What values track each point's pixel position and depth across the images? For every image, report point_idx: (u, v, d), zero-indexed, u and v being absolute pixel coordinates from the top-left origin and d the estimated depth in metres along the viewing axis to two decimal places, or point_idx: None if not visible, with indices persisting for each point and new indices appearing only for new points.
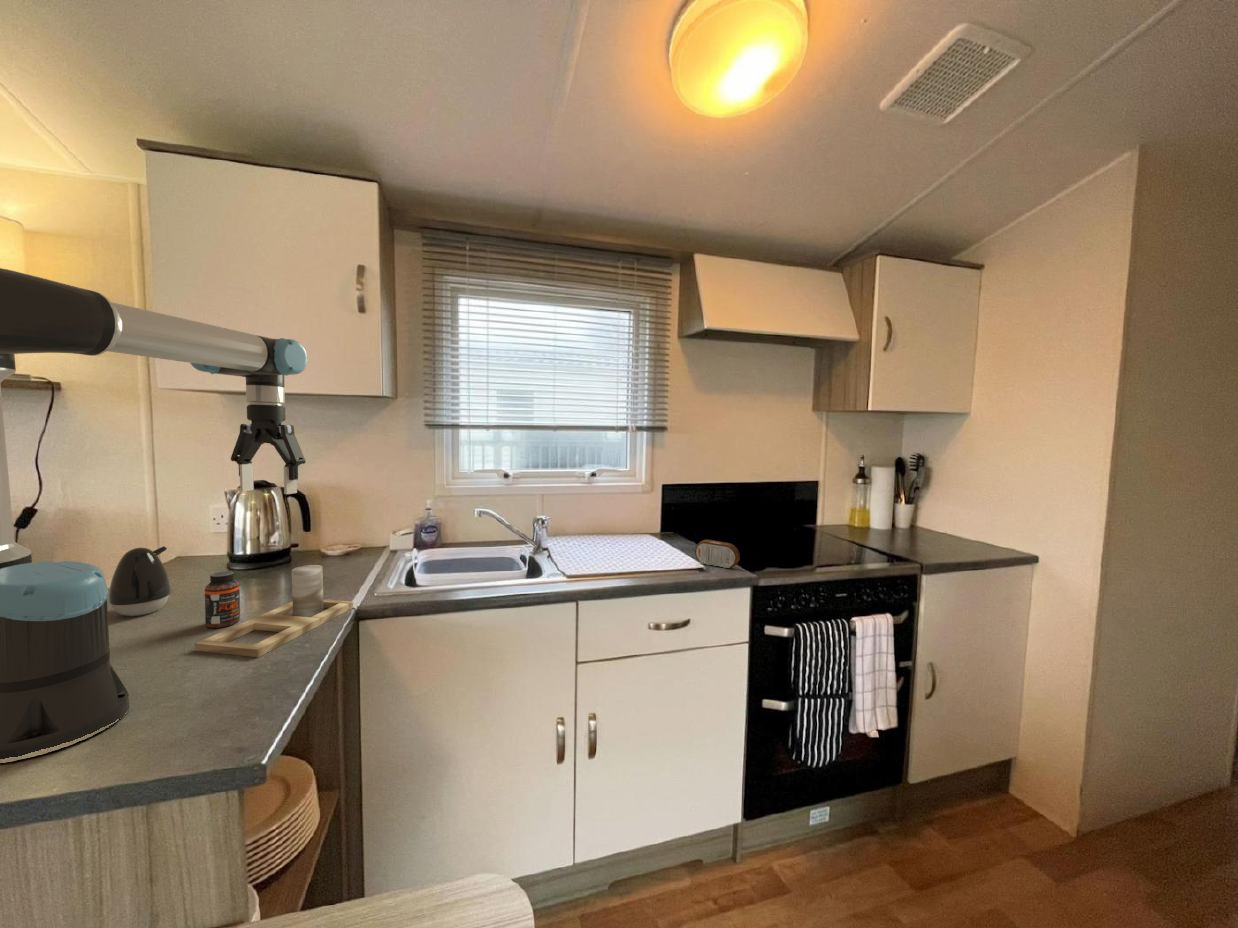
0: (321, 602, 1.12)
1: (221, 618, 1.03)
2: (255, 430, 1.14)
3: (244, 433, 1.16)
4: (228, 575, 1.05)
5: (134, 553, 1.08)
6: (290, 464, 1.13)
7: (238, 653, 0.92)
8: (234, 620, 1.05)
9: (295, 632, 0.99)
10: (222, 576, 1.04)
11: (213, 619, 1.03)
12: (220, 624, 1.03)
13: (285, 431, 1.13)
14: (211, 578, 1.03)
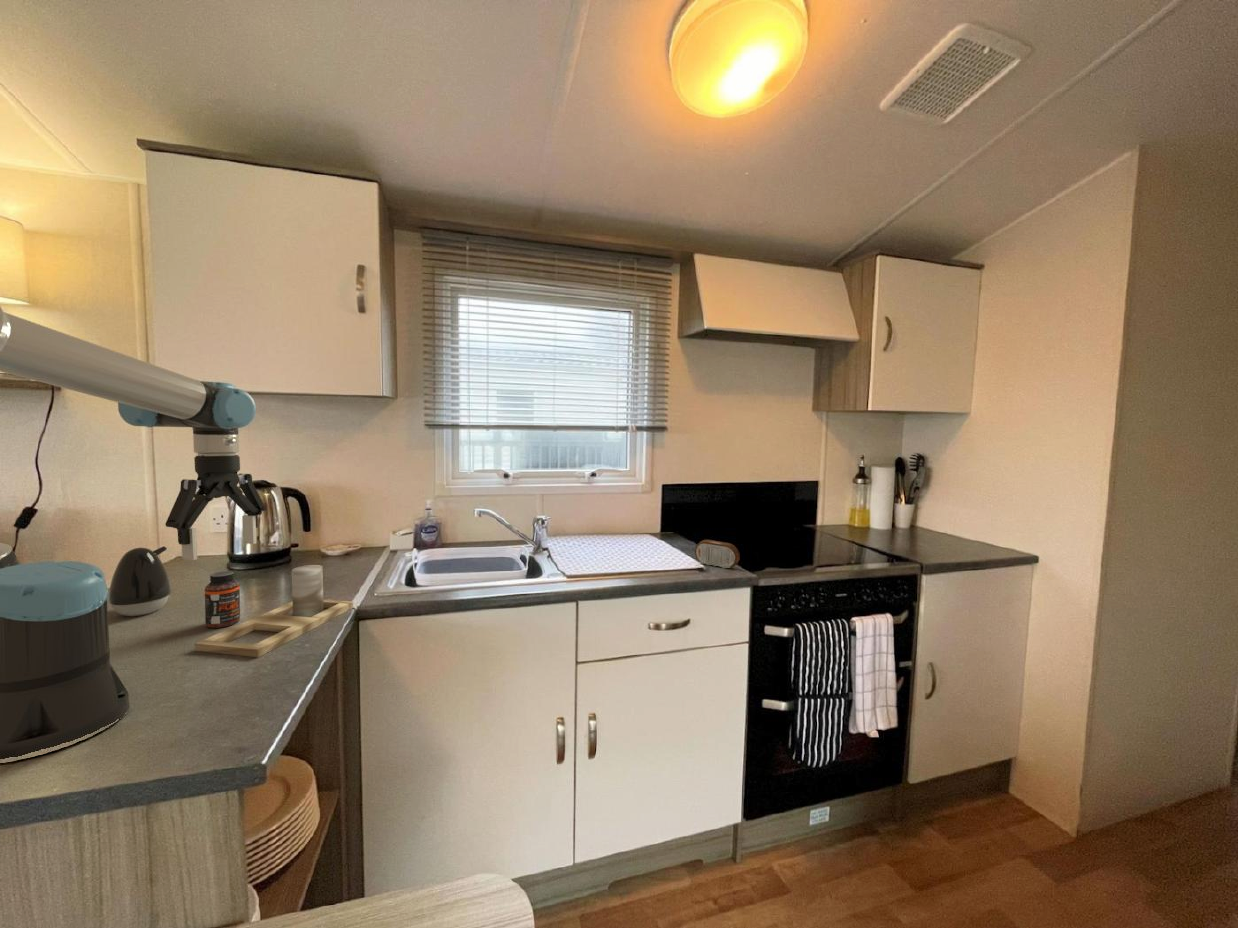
0: (321, 602, 1.12)
1: (221, 618, 1.03)
2: None
3: None
4: (228, 575, 1.05)
5: (134, 553, 1.08)
6: None
7: (238, 653, 0.92)
8: (234, 620, 1.05)
9: (295, 632, 0.99)
10: (222, 576, 1.04)
11: (213, 619, 1.03)
12: (220, 624, 1.03)
13: (181, 487, 0.97)
14: (211, 578, 1.03)
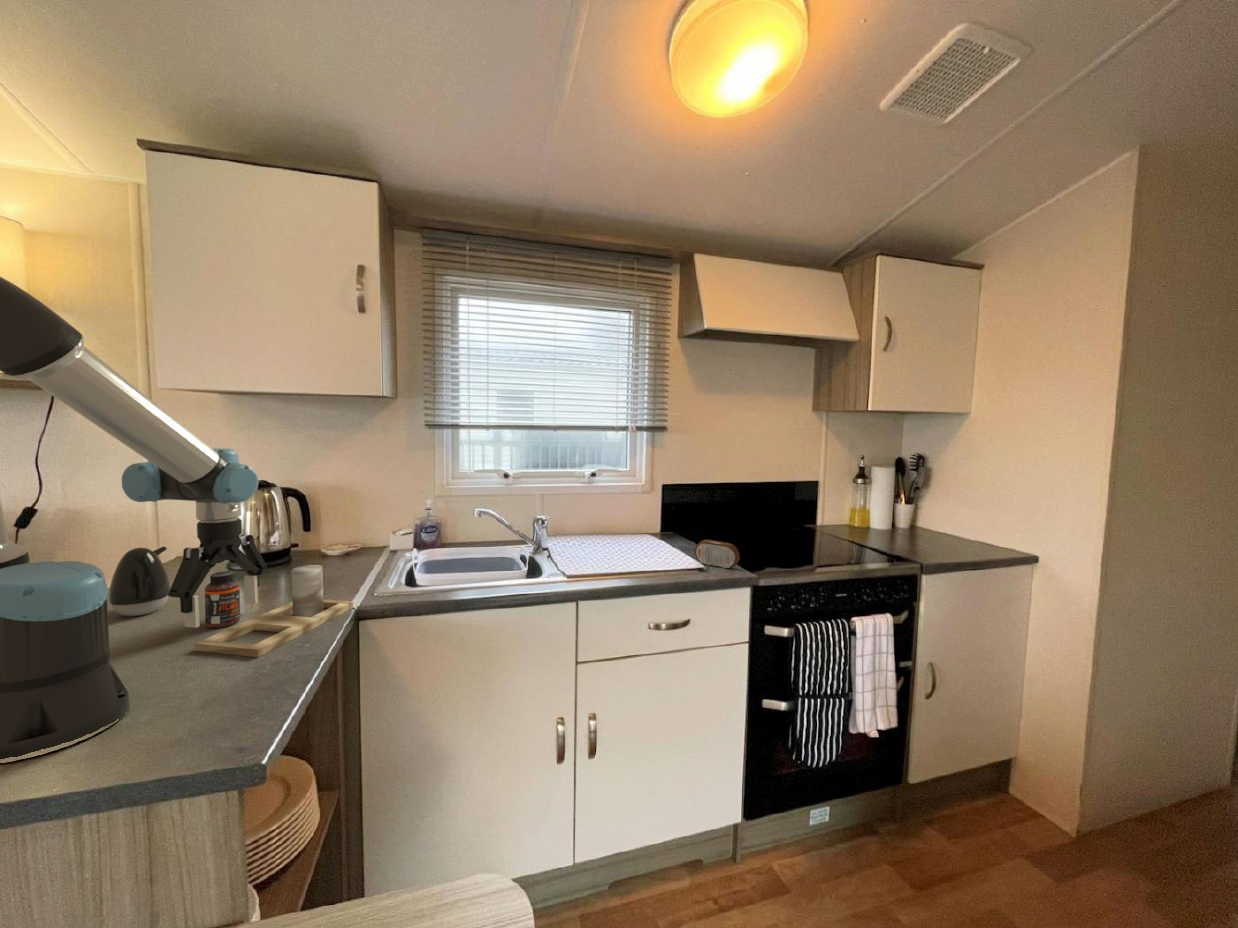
0: (321, 602, 1.12)
1: (221, 618, 1.03)
2: None
3: None
4: (228, 575, 1.05)
5: (134, 553, 1.08)
6: None
7: (238, 653, 0.92)
8: (234, 620, 1.05)
9: (295, 632, 0.99)
10: (222, 576, 1.04)
11: (213, 619, 1.03)
12: (220, 624, 1.03)
13: (184, 555, 0.98)
14: (211, 578, 1.03)
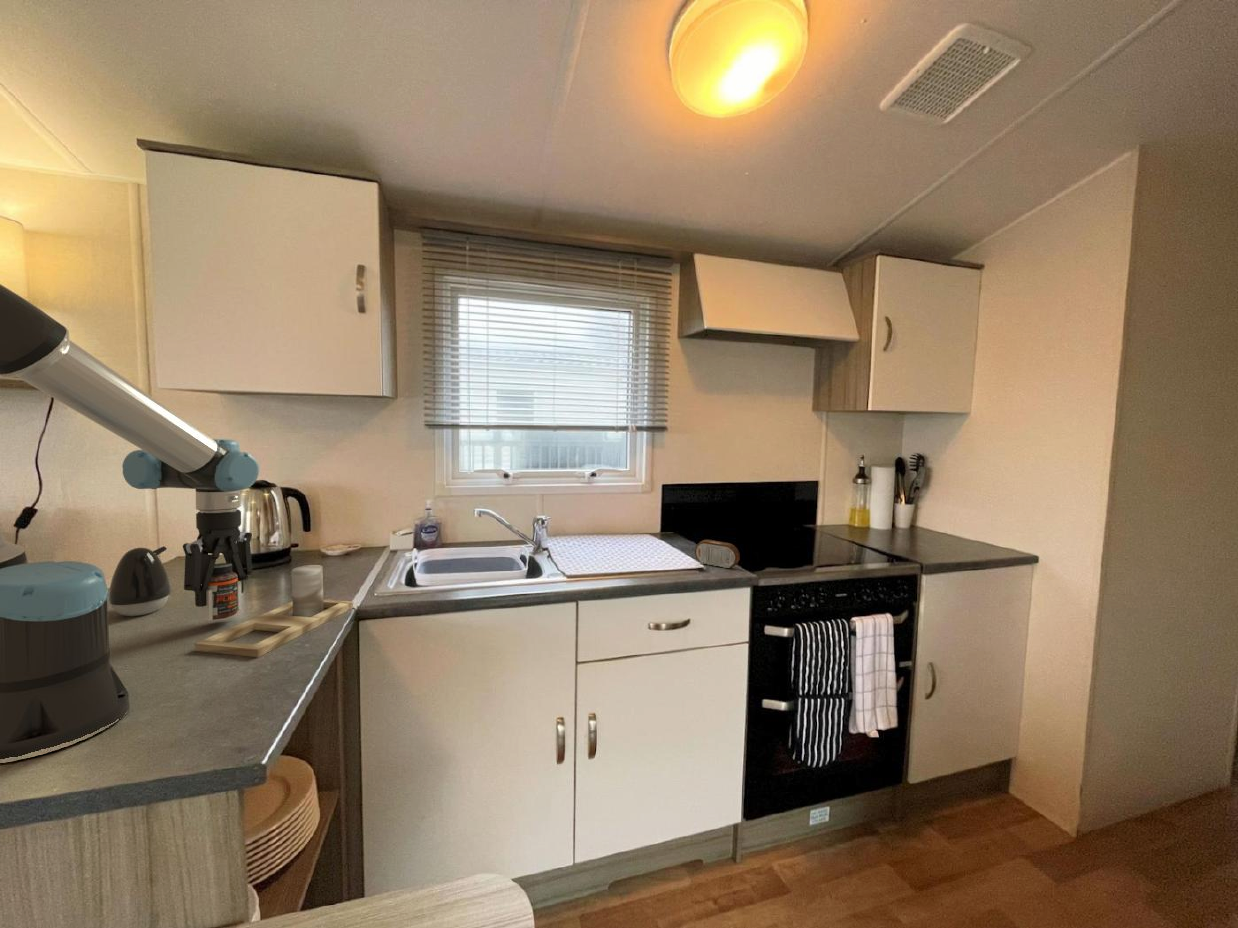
0: (321, 602, 1.12)
1: (218, 610, 1.03)
2: None
3: (237, 541, 1.10)
4: (226, 566, 1.04)
5: (134, 553, 1.08)
6: None
7: (238, 653, 0.92)
8: (232, 612, 1.05)
9: (295, 632, 0.99)
10: (220, 567, 1.03)
11: None
12: (217, 616, 1.03)
13: (185, 551, 0.98)
14: None
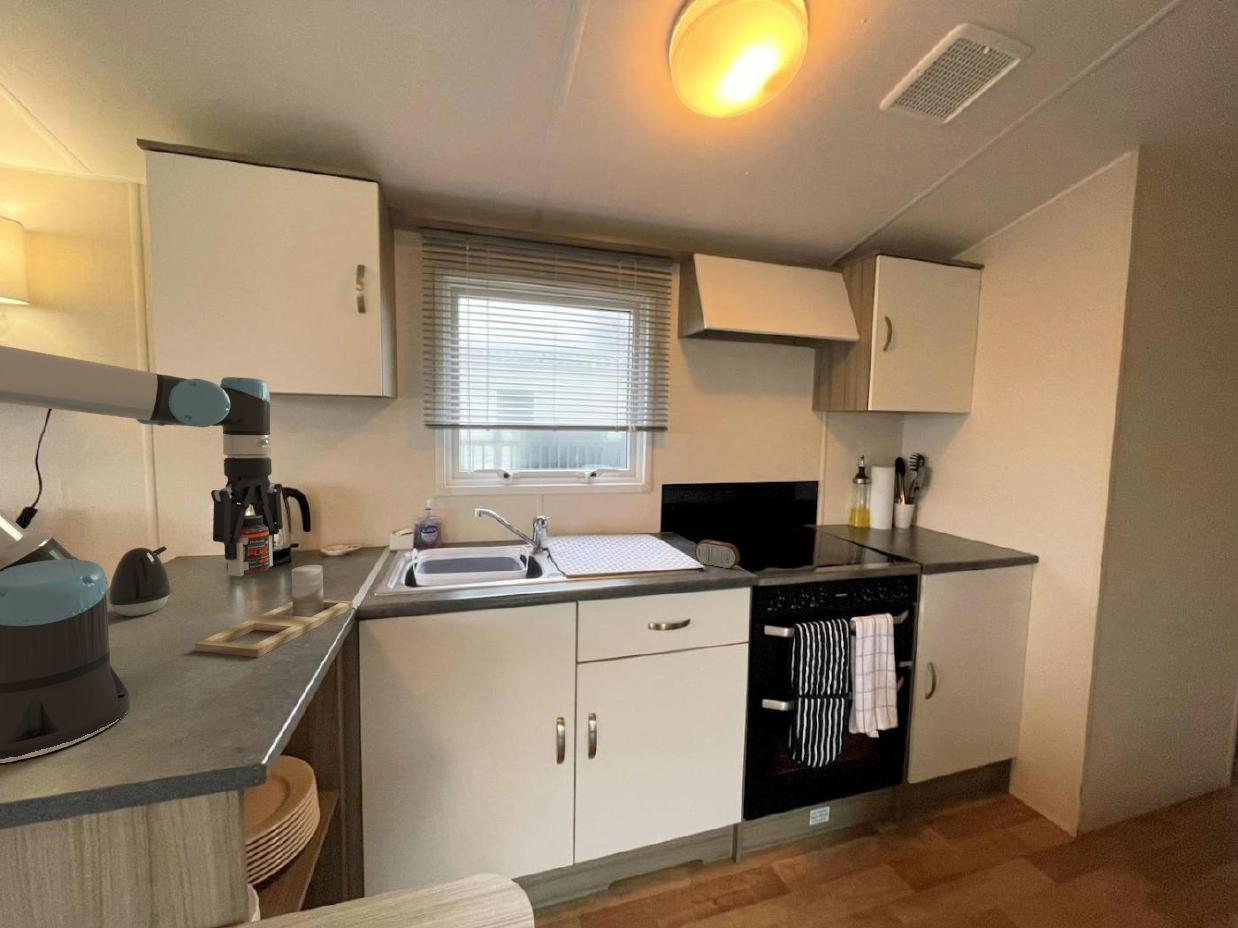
0: (321, 602, 1.12)
1: (250, 564, 0.94)
2: None
3: (267, 493, 1.01)
4: (257, 518, 0.96)
5: (134, 553, 1.08)
6: (222, 541, 0.92)
7: (238, 653, 0.92)
8: (264, 568, 0.96)
9: (295, 632, 0.99)
10: (251, 518, 0.95)
11: None
12: (249, 571, 0.94)
13: (213, 499, 0.90)
14: None
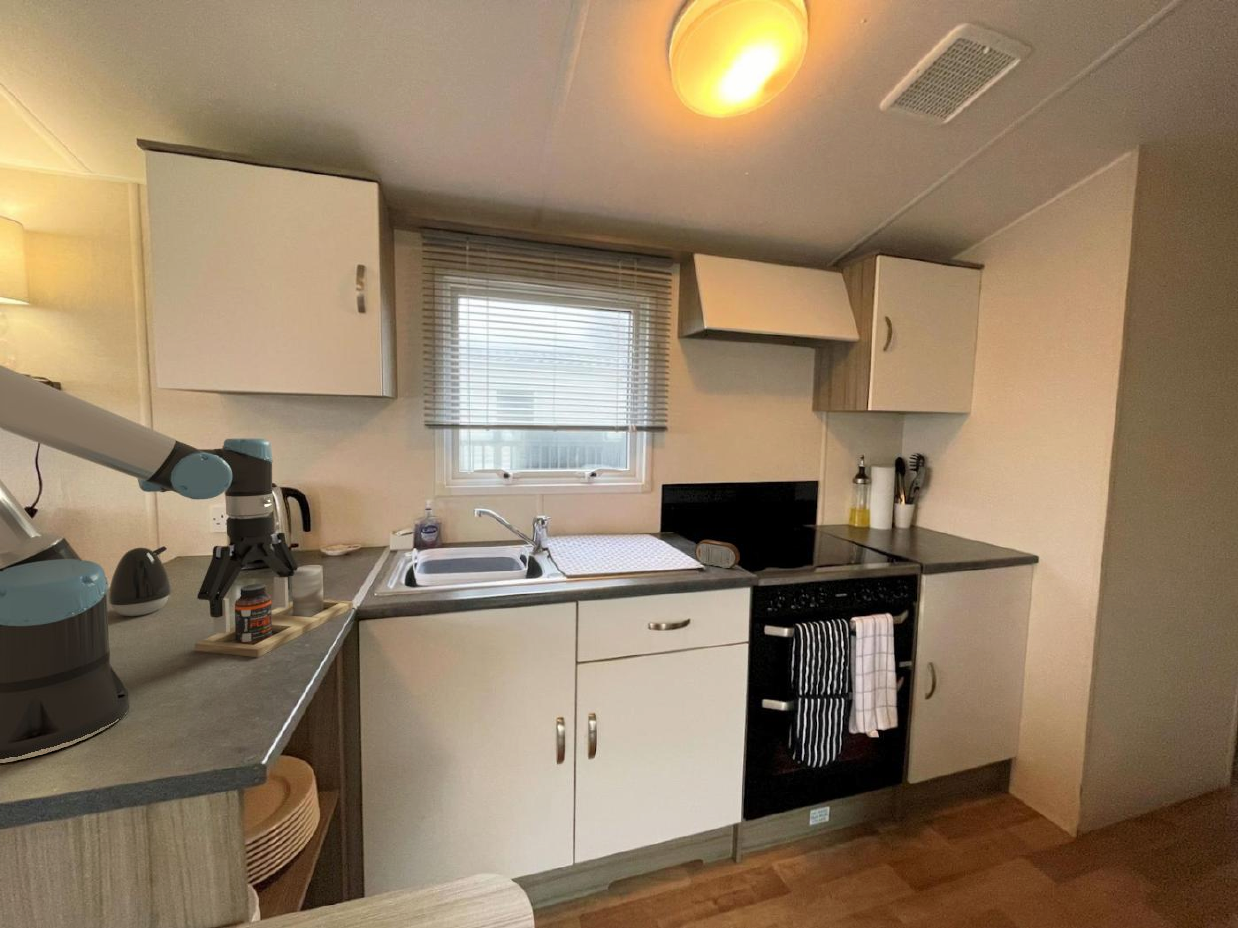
0: (321, 602, 1.12)
1: (252, 636, 0.95)
2: None
3: (272, 543, 1.02)
4: (259, 588, 0.97)
5: (134, 553, 1.08)
6: None
7: (238, 653, 0.92)
8: (266, 638, 0.97)
9: (295, 632, 0.99)
10: (253, 590, 0.96)
11: (244, 637, 0.95)
12: (251, 642, 0.95)
13: (213, 554, 0.90)
14: (241, 592, 0.95)
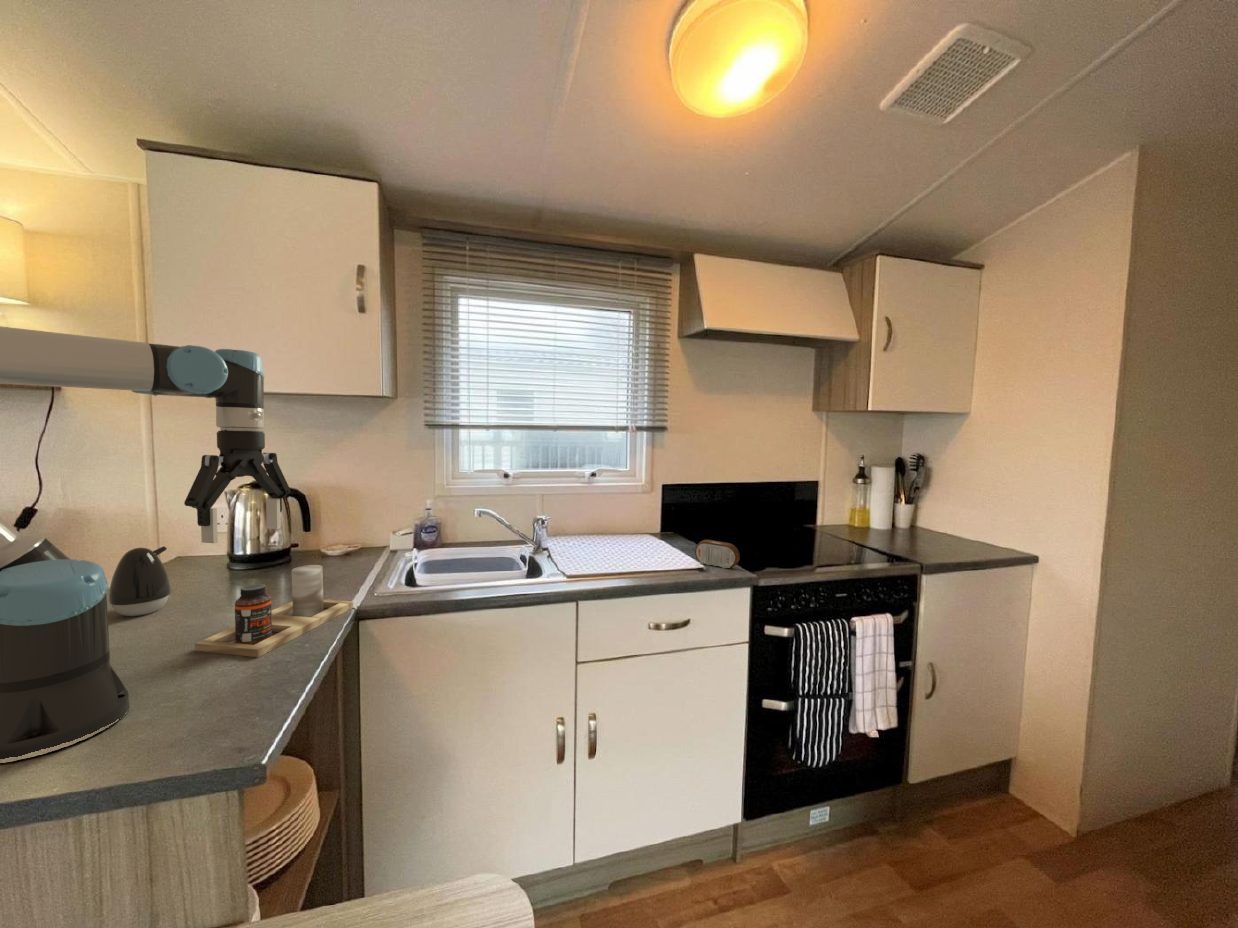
0: (321, 602, 1.12)
1: (252, 636, 0.95)
2: None
3: (264, 463, 1.01)
4: (260, 588, 0.97)
5: (134, 553, 1.08)
6: None
7: (238, 653, 0.92)
8: (266, 638, 0.97)
9: (295, 632, 0.99)
10: (253, 590, 0.96)
11: (244, 637, 0.95)
12: (251, 642, 0.95)
13: (202, 463, 0.89)
14: (241, 592, 0.95)
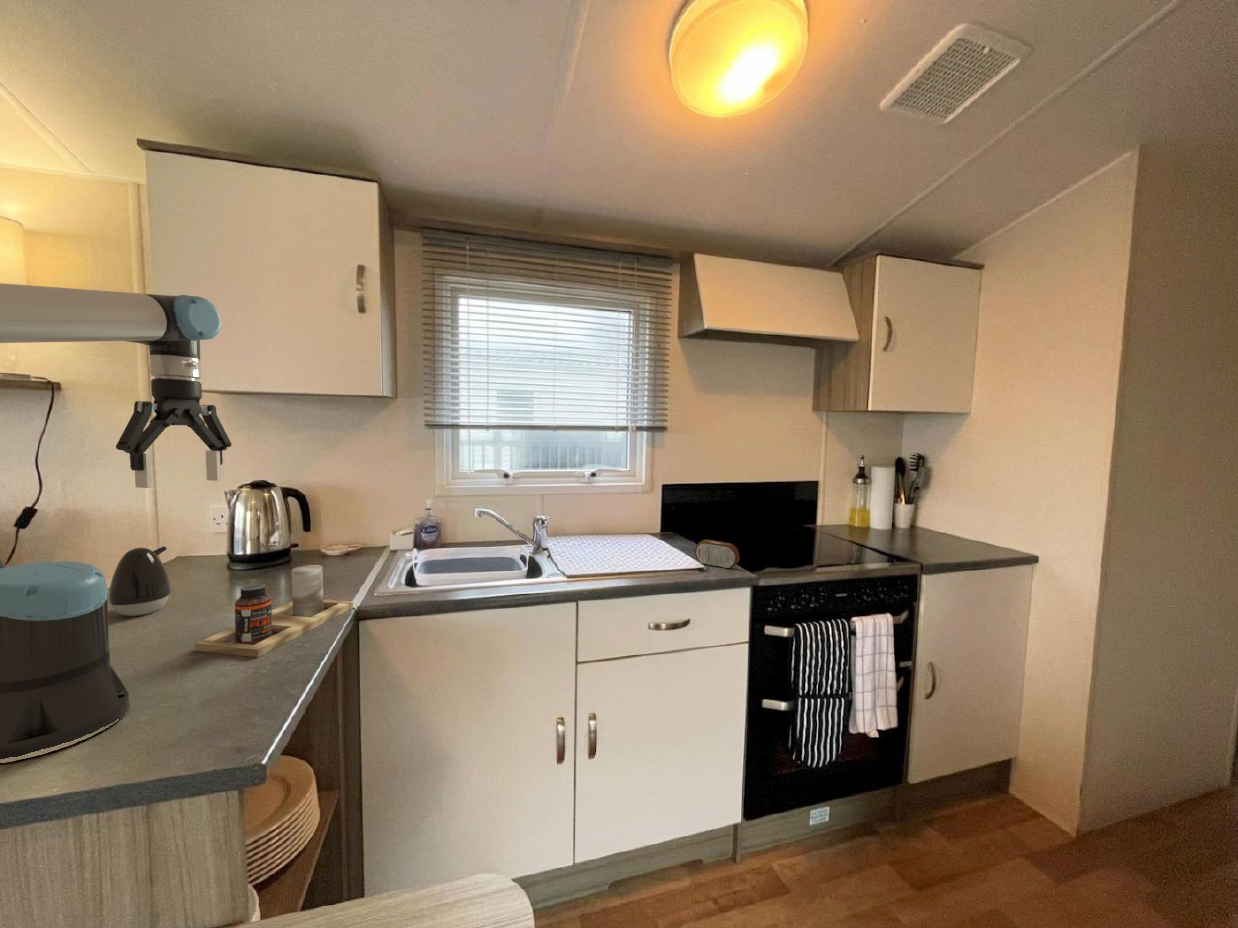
0: (321, 602, 1.12)
1: (252, 636, 0.95)
2: None
3: (203, 415, 1.03)
4: (260, 588, 0.97)
5: (134, 553, 1.08)
6: None
7: (238, 653, 0.92)
8: (266, 638, 0.97)
9: (295, 632, 0.99)
10: (253, 590, 0.96)
11: (244, 637, 0.95)
12: (251, 642, 0.95)
13: (135, 409, 0.90)
14: (242, 592, 0.95)
